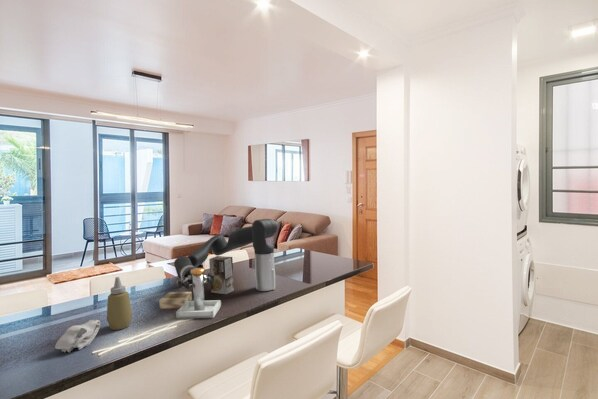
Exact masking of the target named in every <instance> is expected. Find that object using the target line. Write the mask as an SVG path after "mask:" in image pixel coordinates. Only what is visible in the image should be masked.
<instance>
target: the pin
mask: <svg viewBox="0 0 598 399" xmlns="http://www.w3.org/2000/svg"><path fill="white" fill-rule="evenodd" d="M191 274H192V277H193V286H192V291H193V292H192V297H193V301H194V311H204V310H205V303H204V301H205V288H204V287H205V286H204V285H205V284H204V283H203V275H204V274H205V268H204V267H197V268H195V269H191Z"/></svg>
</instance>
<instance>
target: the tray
mask: <svg viewBox="0 0 598 399" xmlns="http://www.w3.org/2000/svg"><path fill="white" fill-rule="evenodd" d="M204 303H205V310H204V311H194V300H191V301H187V302H186V303H185V304H184V305H183V306H182V307H181V308H178V309H177V311H175V316H176V318H175V319H176V320H179V319H181V320H185V319H212V318H213V319H214V317H215V316H216V315H217V313H218V312H219V310H220V308H221V307H222V300H221V299H216V300H215V299H214V300H204Z"/></svg>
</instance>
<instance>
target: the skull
mask: <svg viewBox="0 0 598 399" xmlns="http://www.w3.org/2000/svg"><path fill="white" fill-rule="evenodd" d="M100 328H101V321H100V320H98V319H89V320H88V321H87V322H85V323H82V324H78V325H77V324H75V325H71V326H70V327H68V328H67V329H66V331H65V332H64V333H63V335H61V336H60V337H59V338H58V340H57V341H56V343H55V346H54V349H56V350H60V351H61V352H62V353H63V352H64V353H67V352H68V354H69V353H71V351H73V350H74V349H75V348H78V349H77V350H78V351H81V350H82V349H83V348H85V347H88V346H89V345H91V343H92V342H93V341H94V340H95V338H96V336H97V334H98V332H99V331H100Z"/></svg>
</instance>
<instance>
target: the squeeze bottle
mask: <svg viewBox="0 0 598 399" xmlns="http://www.w3.org/2000/svg"><path fill="white" fill-rule="evenodd" d="M121 281H122V280H121V277H120V276H116V277H115V278H114V285H113V287H111V288H110V294H109V295H108V296H107V307H106V322H107V323H108V325H109V328H110V330H112V331H117V330H122V329H123V330H124V329H126V328H128V327H129V326H130V324H131V320H132V316H133V311H132V305H131V300H130V295H129V292H128V291H126V286H125V285H123V284H122V282H121Z"/></svg>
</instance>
